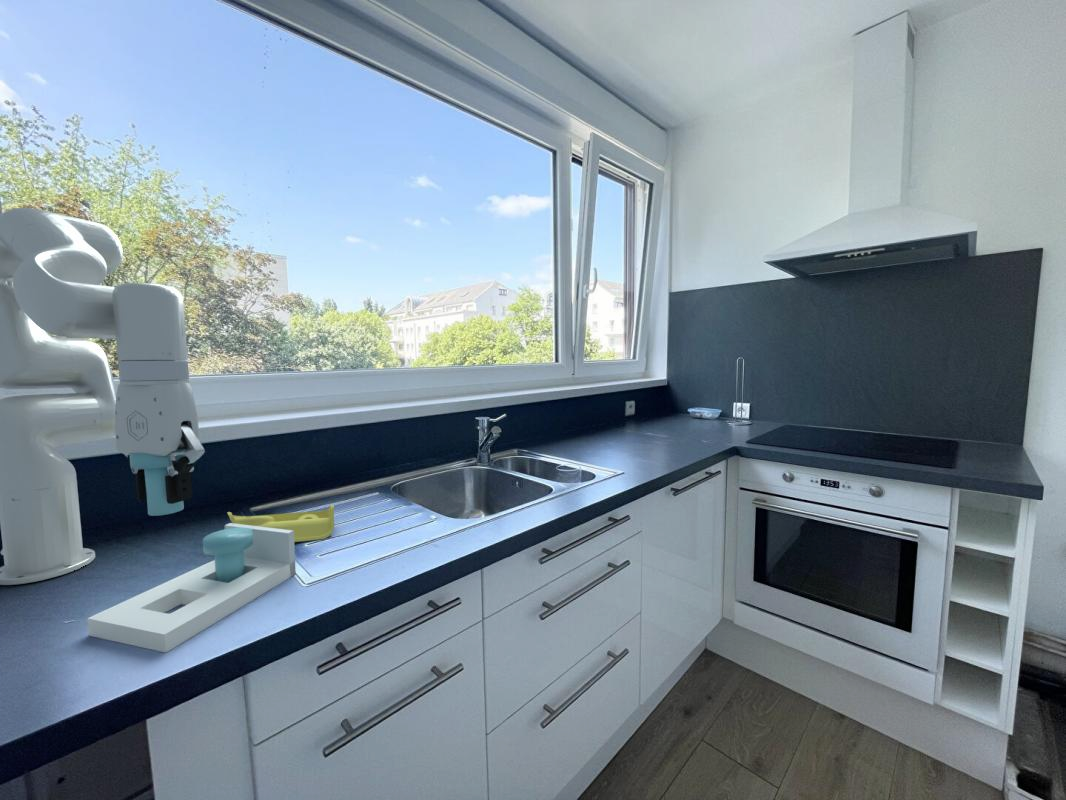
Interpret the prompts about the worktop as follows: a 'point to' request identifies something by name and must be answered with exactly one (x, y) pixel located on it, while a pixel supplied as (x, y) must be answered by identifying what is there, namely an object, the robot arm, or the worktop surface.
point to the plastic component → (294, 523)
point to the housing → (198, 596)
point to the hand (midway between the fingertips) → (165, 498)
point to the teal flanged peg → (228, 551)
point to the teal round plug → (156, 481)
